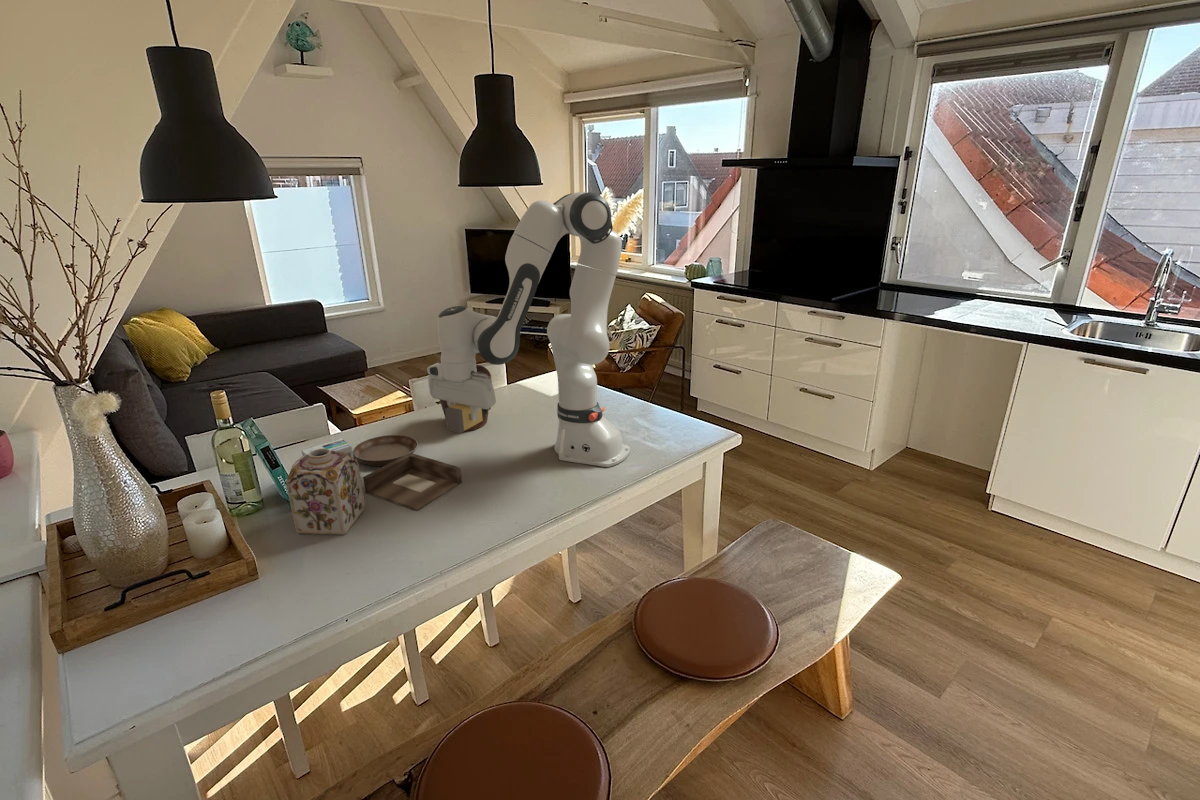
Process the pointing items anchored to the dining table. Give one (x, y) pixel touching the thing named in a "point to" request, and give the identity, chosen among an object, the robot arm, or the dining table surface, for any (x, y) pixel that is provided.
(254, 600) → the dining table surface
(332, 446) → the light bulb box
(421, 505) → the corner arena
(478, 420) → the ochre block
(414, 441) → the plant saucer
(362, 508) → the decorative jar
